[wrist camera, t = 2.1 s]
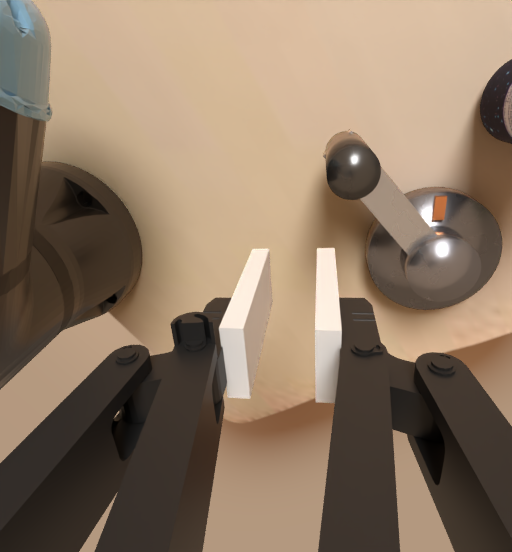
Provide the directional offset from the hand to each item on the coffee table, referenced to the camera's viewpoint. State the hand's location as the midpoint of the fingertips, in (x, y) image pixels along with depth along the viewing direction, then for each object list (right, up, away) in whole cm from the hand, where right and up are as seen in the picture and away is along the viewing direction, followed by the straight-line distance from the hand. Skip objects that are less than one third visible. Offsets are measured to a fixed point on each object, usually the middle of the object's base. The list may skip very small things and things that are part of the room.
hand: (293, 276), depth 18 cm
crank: (+9, +5, +12) cm, 16 cm away
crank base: (+13, +3, +15) cm, 20 cm away
